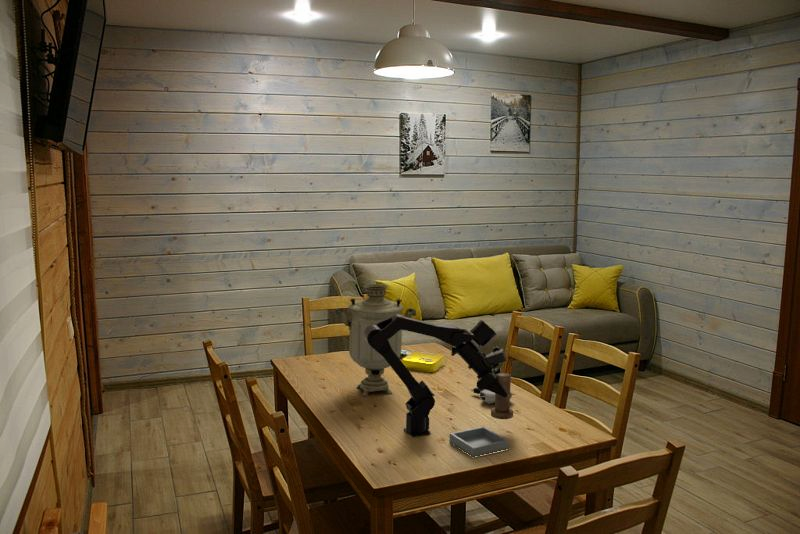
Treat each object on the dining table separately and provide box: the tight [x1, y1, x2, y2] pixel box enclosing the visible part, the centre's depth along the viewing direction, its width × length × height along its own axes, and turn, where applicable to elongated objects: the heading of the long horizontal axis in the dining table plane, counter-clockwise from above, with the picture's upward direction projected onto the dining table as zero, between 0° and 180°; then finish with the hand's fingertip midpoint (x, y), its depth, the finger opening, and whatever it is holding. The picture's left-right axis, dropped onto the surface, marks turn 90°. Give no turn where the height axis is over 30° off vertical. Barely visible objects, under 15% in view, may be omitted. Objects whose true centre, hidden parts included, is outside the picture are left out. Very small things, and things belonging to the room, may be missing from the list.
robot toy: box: [470, 387, 516, 405], centre depth 243 cm, size 12×4×15 cm
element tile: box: [401, 351, 445, 373], centre depth 284 cm, size 15×15×5 cm
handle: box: [490, 372, 514, 420], centre depth 210 cm, size 7×7×13 cm
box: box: [449, 426, 510, 458], centre depth 200 cm, size 13×13×3 cm
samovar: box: [335, 283, 417, 397], centre depth 251 cm, size 30×26×40 cm
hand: (507, 393), depth 210 cm, fingers closed on handle, 5 cm apart
